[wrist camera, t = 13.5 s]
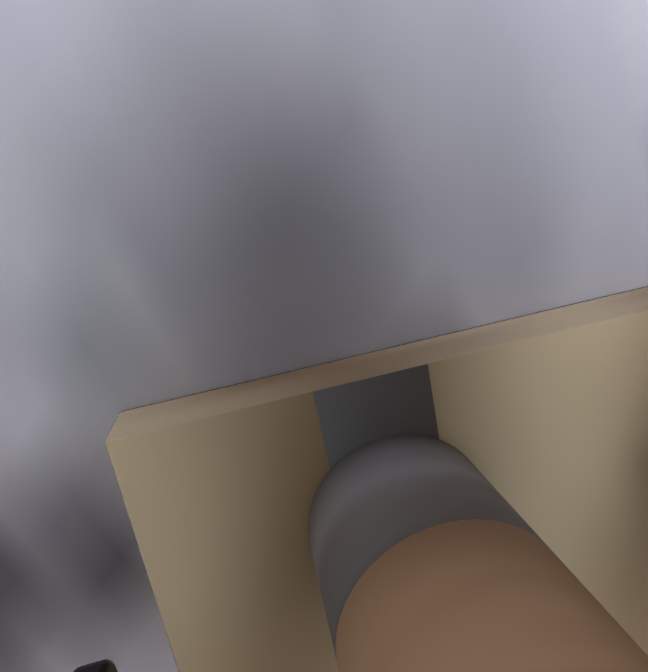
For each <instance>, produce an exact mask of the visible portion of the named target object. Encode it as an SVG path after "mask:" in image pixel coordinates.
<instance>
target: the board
mask: <svg viewBox="0 0 648 672" xmlns="http://www.w3.org/2000/svg"><path fill="white" fill-rule="evenodd" d="M397 434H419V435H426V436H430V437H434V438H437V439H439V440H442V441H444V442H447V443H448V444H450V445H452V446H454V447H455V448H457V449H458V450H459V451H460V452H462V453H463V454H464V455H465V456H466V457H467V458H468V459H469V460H470V461H471V462H472V464H473V465H474V466H475V467H476V468H477V469H478V470H479V471H480V472H481V473H482V474H483V476H484V477H485V478H486V479H487V480H488V481H489V482H490V483H491V484H492V485H493V487H494V488H495V489H496V490H497V491H498V492H499V493H500V494H501V495H502V496H503V497H504V499H505V500H506V501H507V502H508V503H509V504H510V505H511V506H512V507H513V508H514V510H515V511H516V512H517V513H518V514H519V515H520V516H521V517H522V518H523V519H524V520H525V522H526V523H527V524H528V525H529V526H530V527H531V528H532V529H533V530H534V531H535V533H536V534H537V535H538V536H539V537H540V538H541V539H542V540H543V541H544V542H545V543H546V545H547V546H548V547H549V548H550V549H551V550H552V551H553V552H554V553H555V554H556V556H557V557H558V558H559V559H560V560H561V561H562V562H563V563H564V564H565V565H566V567H567V568H568V569H569V570H570V571H571V572H572V573H573V574H574V575H575V576H576V577H577V579H578V580H579V581H580V582H581V583H582V584H583V585H584V586H585V587H586V588H587V590H588V591H589V592H590V593H591V594H592V595H593V596H594V597H595V598H596V599H597V600H598V602H599V603H600V604H601V605H602V606H603V607H604V608H605V609H606V610H607V611H608V613H609V614H610V615H611V616H612V617H613V618H614V619H615V620H616V621H617V622H618V623H619V625H620V626H621V627H622V628H623V629H624V630H625V631H626V632H627V633H628V634H629V636H630V637H631V638H632V639H633V640H634V641H635V642H636V643H637V644H638V645H639V646H640V648H641V649H642V650H643V651H644V652H645V653H646V654H647V655H648V287H644V288H640V289H636V290H631V291H627V292H623V293H619V294H615V295H610V296H606V297H602V298H598V299H594V300H589V301H585V302H581V303H577V304H573V305H568V306H564V307H560V308H556V309H552V310H547V311H543V312H539V313H535V314H531V315H526V316H522V317H518V318H514V319H510V320H505V321H501V322H497V323H493V324H489V325H484V326H480V327H476V328H472V329H468V330H463V331H459V332H455V333H451V334H447V335H442V336H438V337H434V338H430V339H426V340H421V341H417V342H413V343H409V344H405V345H400V346H396V347H392V348H388V349H384V350H379V351H375V352H371V353H367V354H363V355H358V356H354V357H350V358H346V359H342V360H337V361H333V362H329V363H325V364H321V365H316V366H312V367H308V368H304V369H299V370H295V371H291V372H287V373H283V374H278V375H274V376H270V377H266V378H262V379H257V380H253V381H249V382H245V383H241V384H236V385H232V386H228V387H224V388H220V389H215V390H211V391H207V392H203V393H199V394H194V395H190V396H186V397H182V398H178V399H173V400H169V401H165V402H161V403H157V404H152V405H148V406H144V407H140V408H136V409H131V410H127V411H123V412H120V413H119V415H118V417H117V419H116V421H115V423H114V425H113V427H112V429H111V431H110V433H109V435H108V437H107V439H106V441H105V444H106V447H107V450H108V453H109V456H110V460H111V463H112V466H113V469H114V472H115V475H116V478H117V481H118V484H119V488H120V491H121V494H122V497H123V500H124V503H125V506H126V509H127V512H128V516H129V519H130V522H131V525H132V528H133V531H134V534H135V537H136V540H137V544H138V547H139V550H140V553H141V556H142V559H143V562H144V565H145V568H146V572H147V575H148V578H149V581H150V584H151V587H152V590H153V593H154V596H155V599H156V603H157V606H158V609H159V612H160V615H161V618H162V621H163V624H164V627H165V631H166V634H167V637H168V640H169V643H170V646H171V649H172V652H173V655H174V659H175V662H176V665H177V668H178V671H179V672H339V669H338V665H337V660H336V656H335V652H334V647H333V643H332V639H331V634H330V630H329V626H328V621H327V617H326V613H325V608H324V604H323V600H322V595H321V591H320V587H319V582H318V578H317V574H316V569H315V565H314V561H313V556H312V552H311V548H310V543H309V537H308V517H309V512H310V507H311V504H312V501H313V498H314V495H315V493H316V491H317V489H318V487H319V485H320V484H321V482H322V481H323V479H324V478H325V476H326V475H327V474H328V472H329V471H330V470H331V469H332V468H333V467H334V466H335V465H336V464H337V463H338V462H339V461H340V460H341V459H342V458H343V457H345V456H346V455H347V454H349V453H350V452H351V451H353V450H354V449H356V448H358V447H360V446H362V445H363V444H366V443H368V442H370V441H373V440H375V439H379V438H382V437H386V436H391V435H397Z"/></svg>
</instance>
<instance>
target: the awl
mask: <svg viewBox="0 0 648 672" xmlns="http://www.w3.org/2000/svg"><path fill="white" fill-rule="evenodd" d="M308 537H309V543H310V548H311V552H312V556H313V561H314V565H315V569H316V574H317V578H318V582H319V587H320V591H321V595H322V600H323V604H324V608H325V613H326V617H327V621H328V626H329V630H330V634H331V639H332V643H333V647H334V652H335V656H336V660H337V665H338V669H339V672H648V655H647V654H646V653H645V652H644V651H643V650H642V649H641V648H640V646H639V645H638V644H637V643H636V642H635V641H634V640H633V639H632V638H631V637H630V636H629V634H628V633H627V632H626V631H625V630H624V629H623V628H622V627H621V626H620V625H619V623H618V622H617V621H616V620H615V619H614V618H613V617H612V616H611V615H610V614H609V613H608V611H607V610H606V609H605V608H604V607H603V606H602V605H601V604H600V603H599V602H598V600H597V599H596V598H595V597H594V596H593V595H592V594H591V593H590V592H589V591H588V590H587V588H586V587H585V586H584V585H583V584H582V583H581V582H580V581H579V580H578V579H577V577H576V576H575V575H574V574H573V573H572V572H571V571H570V570H569V569H568V568H567V567H566V565H565V564H564V563H563V562H562V561H561V560H560V559H559V558H558V557H557V556H556V554H555V553H554V552H553V551H552V550H551V549H550V548H549V547H548V546H547V545H546V543H545V542H544V541H543V540H542V539H541V538H540V537H539V536H538V535H537V534H536V533H535V531H534V530H533V529H532V528H531V527H530V526H529V525H528V524H527V523H526V522H525V520H524V519H523V518H522V517H521V516H520V515H519V514H518V513H517V512H516V511H515V510H514V508H513V507H512V506H511V505H510V504H509V503H508V502H507V501H506V500H505V499H504V497H503V496H502V495H501V494H500V493H499V492H498V491H497V490H496V489H495V488H494V487H493V485H492V484H491V483H490V482H489V481H488V480H487V479H486V478H485V477H484V476H483V474H482V473H481V472H480V471H479V470H478V469H477V468H476V467H475V466H474V465H473V464H472V462H471V461H470V460H469V459H468V458H467V457H466V456H465V455H464V454H463V453H462V452H460V451H459V450H458V449H457V448H455V447H454V446H452V445H450V444H448V443H447V442H444V441H442V440H439V439H437V438H434V437H430V436H426V435H419V434H397V435H391V436H386V437H382V438H379V439H375V440H373V441H370V442H368V443H366V444H363V445H362V446H360V447H358V448H356V449H354V450H353V451H351V452H350V453H349V454H347V455H346V456H345V457H343V458H342V459H341V460H340V461H339V462H338V463H337V464H336V465H335V466H334V467H333V468H332V469H331V470H330V471H329V472H328V474H327V475H326V476H325V478H324V479H323V481H322V482H321V484H320V485H319V487H318V489H317V491H316V493H315V495H314V498H313V501H312V504H311V507H310V512H309V517H308Z"/></svg>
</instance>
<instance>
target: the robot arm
mask: <svg viewBox="0 0 648 672" xmlns="http://www.w3.org/2000/svg"><path fill="white" fill-rule="evenodd" d="M74 672H118V671H117V669H116V666H115V665H114V663H113V662H112V661H110V660H108V659H105V660H101V661H98V662H94V663H91V664H87V665H83V666H81V667H78V668H77V669H75V671H74Z"/></svg>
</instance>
